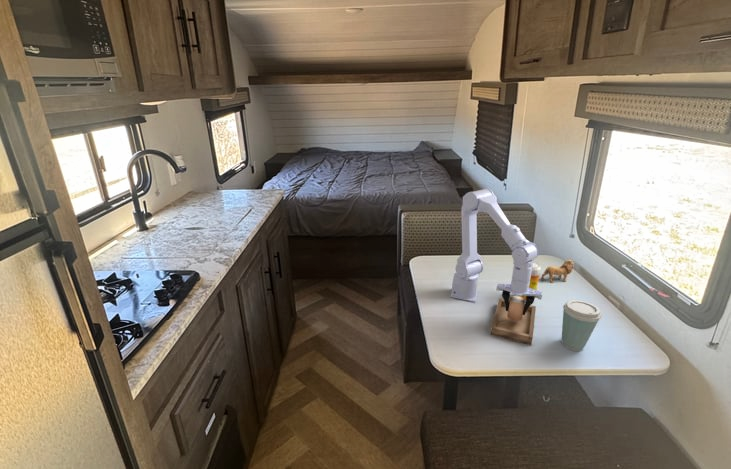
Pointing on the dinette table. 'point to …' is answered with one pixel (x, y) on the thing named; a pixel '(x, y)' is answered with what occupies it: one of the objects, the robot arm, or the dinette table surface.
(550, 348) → the dinette table surface
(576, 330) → the disposable coffee cup
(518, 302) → the tan and white cylinder
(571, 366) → the dinette table surface
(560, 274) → the lion figurine
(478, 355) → the dinette table surface
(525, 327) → the tray
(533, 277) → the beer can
